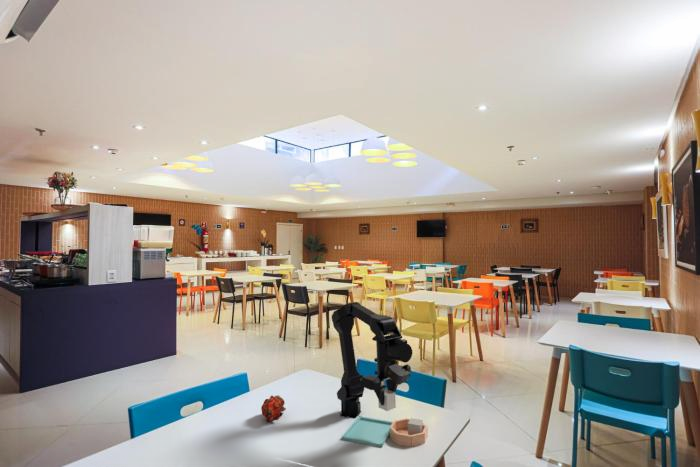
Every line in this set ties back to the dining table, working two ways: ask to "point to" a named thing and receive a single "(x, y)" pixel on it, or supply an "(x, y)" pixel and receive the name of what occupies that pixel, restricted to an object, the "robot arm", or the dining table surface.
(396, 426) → the bowl
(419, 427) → the cube
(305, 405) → the dining table surface
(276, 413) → the dragon fruit
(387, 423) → the tray
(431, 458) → the dining table surface
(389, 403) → the grey cardboard cube
